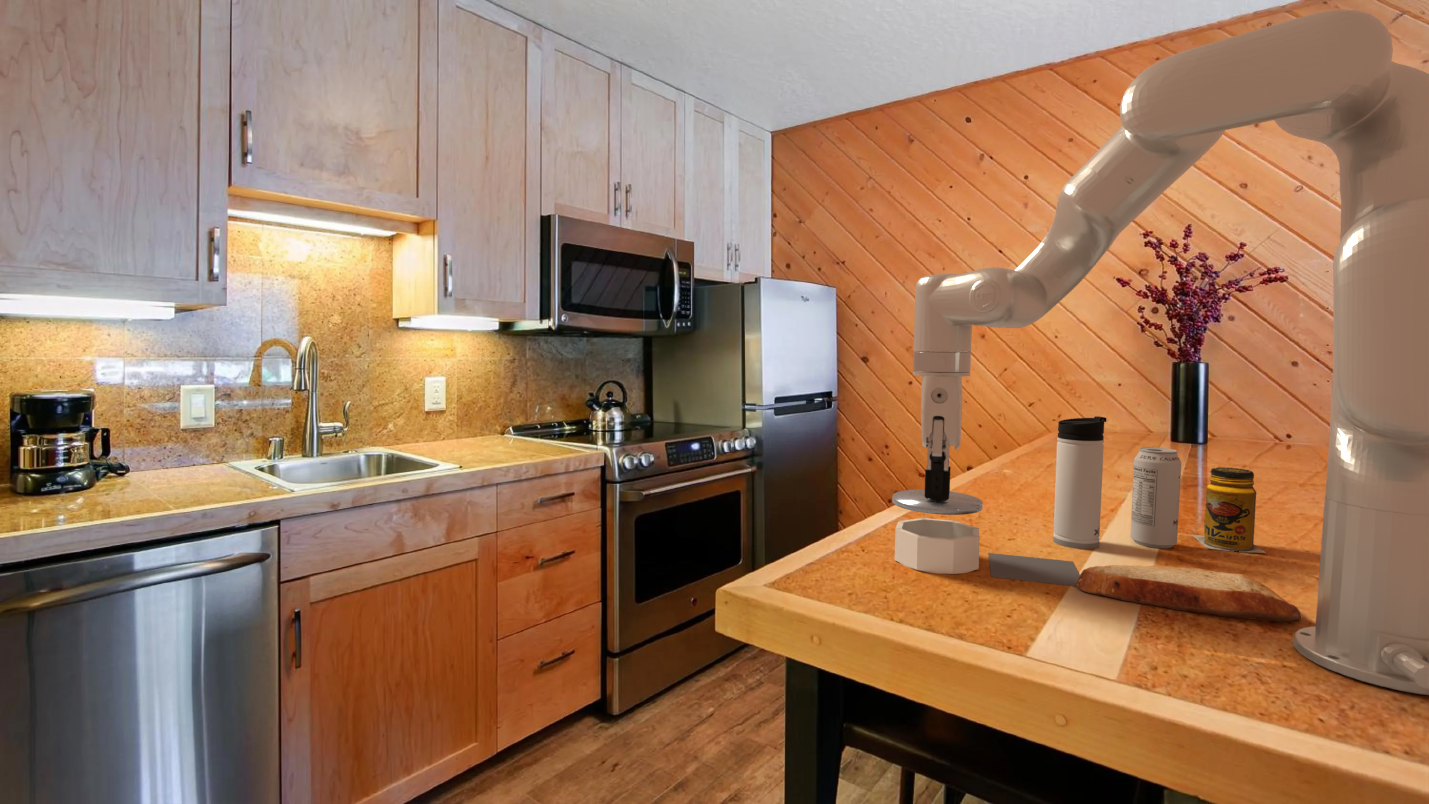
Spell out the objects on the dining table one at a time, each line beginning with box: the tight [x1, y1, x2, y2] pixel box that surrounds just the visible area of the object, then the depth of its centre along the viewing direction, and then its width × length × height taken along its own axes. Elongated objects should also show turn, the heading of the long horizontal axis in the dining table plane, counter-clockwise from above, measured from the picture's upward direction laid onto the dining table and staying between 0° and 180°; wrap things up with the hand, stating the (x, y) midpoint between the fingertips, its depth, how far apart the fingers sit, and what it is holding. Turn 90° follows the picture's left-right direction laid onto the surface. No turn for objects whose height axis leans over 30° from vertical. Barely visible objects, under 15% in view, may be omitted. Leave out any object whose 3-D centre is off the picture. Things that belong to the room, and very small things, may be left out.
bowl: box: [894, 517, 981, 575], centre depth 93 cm, size 11×11×5 cm
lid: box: [891, 463, 984, 516], centre depth 93 cm, size 12×12×6 cm
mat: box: [988, 552, 1081, 588], centre depth 90 cm, size 11×11×1 cm
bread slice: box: [1076, 564, 1302, 623], centre depth 79 cm, size 18×18×4 cm
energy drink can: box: [1129, 446, 1182, 549], centre depth 102 cm, size 6×6×15 cm
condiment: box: [1191, 466, 1268, 555], centre depth 102 cm, size 7×8×12 cm
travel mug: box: [1052, 415, 1107, 550], centre depth 102 cm, size 6×7×20 cm
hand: (937, 495), depth 93 cm, fingers closed on lid, 2 cm apart
